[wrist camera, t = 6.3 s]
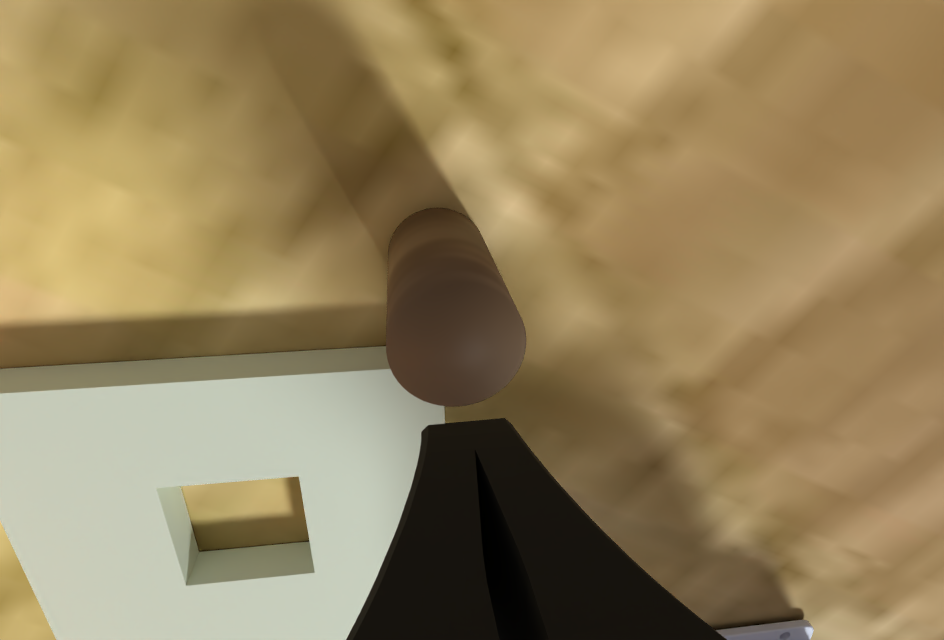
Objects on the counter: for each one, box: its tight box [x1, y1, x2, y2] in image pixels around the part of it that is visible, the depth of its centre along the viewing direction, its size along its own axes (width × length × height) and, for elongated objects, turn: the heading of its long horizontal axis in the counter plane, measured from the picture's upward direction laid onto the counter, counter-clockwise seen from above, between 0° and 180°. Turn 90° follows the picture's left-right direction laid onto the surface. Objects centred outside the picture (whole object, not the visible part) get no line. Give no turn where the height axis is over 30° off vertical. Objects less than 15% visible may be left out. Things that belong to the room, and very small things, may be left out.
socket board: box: [0, 346, 445, 640], centre depth 20 cm, size 14×12×2 cm
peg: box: [386, 208, 526, 407], centre depth 15 cm, size 3×3×6 cm
